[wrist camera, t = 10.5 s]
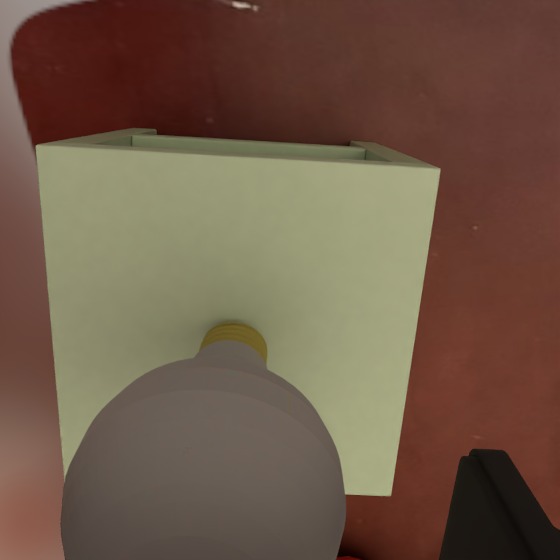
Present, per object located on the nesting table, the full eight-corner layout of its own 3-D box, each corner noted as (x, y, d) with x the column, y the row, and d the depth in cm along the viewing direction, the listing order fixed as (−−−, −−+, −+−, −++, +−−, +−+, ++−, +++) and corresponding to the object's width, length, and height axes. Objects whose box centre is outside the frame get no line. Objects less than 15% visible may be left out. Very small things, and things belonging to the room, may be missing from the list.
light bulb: (167, 244, 16) (21, 437, 7) (336, 285, 17) (416, 518, 7) (139, 394, 18) (-12, 717, 9) (293, 427, 18) (312, 768, 9)
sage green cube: (132, 127, 26) (34, 144, 15) (374, 142, 26) (441, 168, 16) (138, 348, 30) (63, 483, 19) (350, 358, 30) (391, 496, 20)
